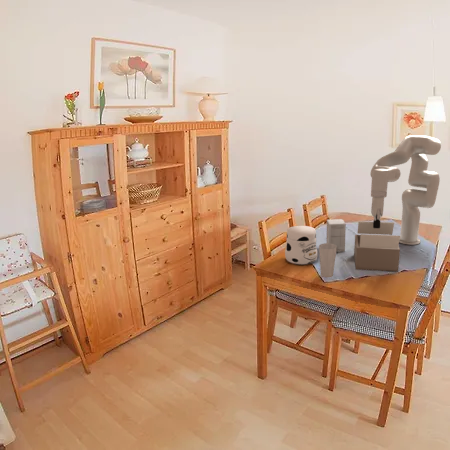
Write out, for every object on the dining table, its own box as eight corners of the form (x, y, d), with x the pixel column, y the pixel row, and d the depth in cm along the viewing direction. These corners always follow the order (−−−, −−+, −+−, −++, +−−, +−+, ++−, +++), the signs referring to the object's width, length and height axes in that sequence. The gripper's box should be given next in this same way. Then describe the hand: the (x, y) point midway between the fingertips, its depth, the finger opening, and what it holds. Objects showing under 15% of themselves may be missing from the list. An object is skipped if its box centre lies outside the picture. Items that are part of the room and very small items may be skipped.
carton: (354, 254, 216) (355, 234, 213) (392, 256, 211) (394, 236, 207) (355, 269, 198) (356, 247, 194) (398, 272, 193) (400, 249, 189)
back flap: (357, 233, 212) (357, 233, 212) (392, 234, 207) (392, 234, 208) (358, 222, 206) (358, 221, 207) (394, 223, 202) (394, 222, 202)
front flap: (360, 234, 188) (360, 234, 188) (400, 235, 183) (400, 236, 183) (359, 246, 194) (359, 247, 193) (397, 248, 189) (397, 248, 189)
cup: (336, 279, 189) (337, 249, 184) (318, 278, 190) (319, 249, 186) (335, 272, 196) (336, 243, 192) (318, 271, 198) (318, 242, 194)
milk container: (315, 268, 201) (316, 236, 196) (282, 266, 207) (282, 234, 201) (318, 256, 217) (319, 225, 212) (287, 254, 222) (287, 224, 217)
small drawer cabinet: (342, 246, 230) (343, 218, 225) (345, 251, 221) (346, 223, 216) (325, 246, 231) (326, 219, 226) (328, 252, 222) (329, 224, 217)
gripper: (369, 190, 205) (367, 223, 210) (372, 196, 191) (370, 232, 196) (385, 190, 203) (382, 223, 208) (388, 197, 189) (385, 232, 194)
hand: (376, 227), depth 202 cm, fingers closed
